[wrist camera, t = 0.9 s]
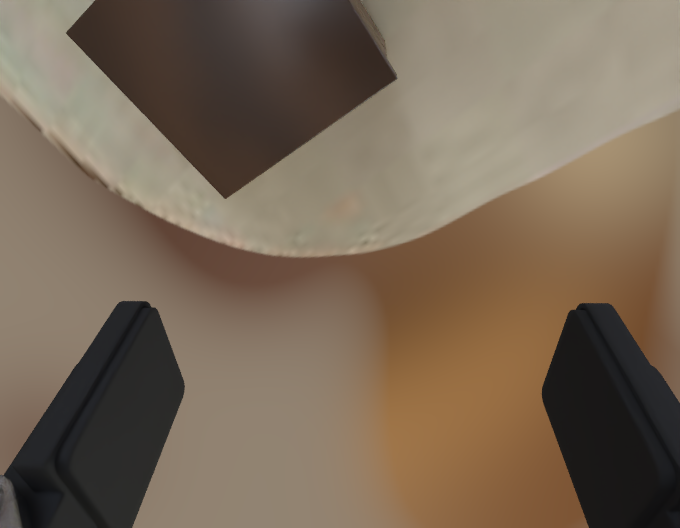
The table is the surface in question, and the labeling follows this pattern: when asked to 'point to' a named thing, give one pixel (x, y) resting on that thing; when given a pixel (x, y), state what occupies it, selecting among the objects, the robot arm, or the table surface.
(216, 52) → the brown block with crank
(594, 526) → the robot arm
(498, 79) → the table surface
